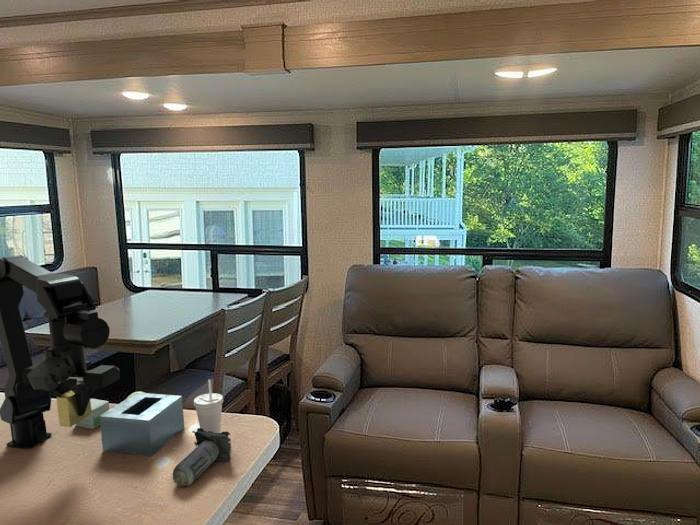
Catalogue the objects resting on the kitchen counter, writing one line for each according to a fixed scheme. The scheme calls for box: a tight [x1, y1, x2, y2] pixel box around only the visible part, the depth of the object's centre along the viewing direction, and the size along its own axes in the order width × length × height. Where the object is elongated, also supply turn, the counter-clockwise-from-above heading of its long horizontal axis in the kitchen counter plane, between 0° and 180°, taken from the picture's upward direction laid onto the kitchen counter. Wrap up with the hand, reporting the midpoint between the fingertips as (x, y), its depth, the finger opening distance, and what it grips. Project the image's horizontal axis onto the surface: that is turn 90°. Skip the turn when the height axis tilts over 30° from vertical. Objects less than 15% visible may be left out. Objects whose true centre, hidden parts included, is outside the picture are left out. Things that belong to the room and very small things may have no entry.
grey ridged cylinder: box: [172, 427, 232, 488], centre depth 105 cm, size 9×8×12 cm
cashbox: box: [99, 392, 185, 457], centre depth 119 cm, size 12×13×8 cm
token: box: [55, 390, 92, 428], centre depth 107 cm, size 2×6×6 cm, turn 166°
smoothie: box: [193, 379, 224, 433], centre depth 118 cm, size 6×6×14 cm
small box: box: [75, 398, 110, 430], centre depth 129 cm, size 6×6×5 cm
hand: (75, 414), depth 108 cm, fingers closed on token, 2 cm apart
